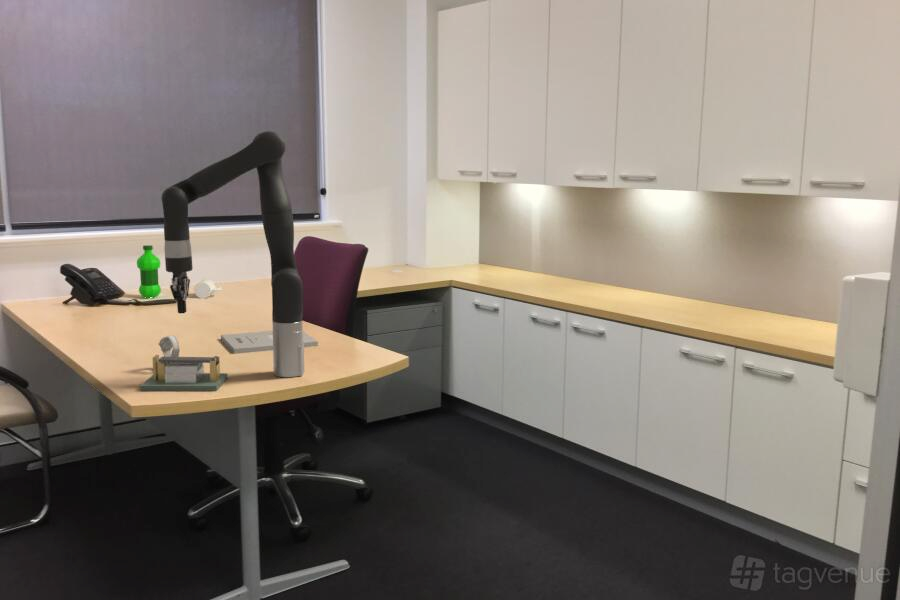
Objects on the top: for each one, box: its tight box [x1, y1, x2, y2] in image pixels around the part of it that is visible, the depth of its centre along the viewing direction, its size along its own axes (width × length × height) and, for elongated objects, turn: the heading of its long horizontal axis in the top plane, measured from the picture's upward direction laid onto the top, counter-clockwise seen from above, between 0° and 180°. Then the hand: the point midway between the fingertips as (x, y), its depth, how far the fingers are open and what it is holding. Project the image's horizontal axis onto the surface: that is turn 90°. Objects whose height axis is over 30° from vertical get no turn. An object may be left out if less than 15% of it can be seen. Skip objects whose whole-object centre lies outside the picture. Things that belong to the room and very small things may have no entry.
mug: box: [193, 278, 223, 299], centre depth 392 cm, size 12×10×8 cm
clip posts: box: [151, 354, 221, 382], centre depth 241 cm, size 19×5×7 cm, turn 92°
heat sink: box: [165, 362, 205, 384], centre depth 241 cm, size 9×9×5 cm
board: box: [139, 372, 229, 392], centre depth 242 cm, size 22×14×2 cm, turn 92°
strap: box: [158, 355, 220, 364], centre depth 241 cm, size 17×4×2 cm, turn 92°
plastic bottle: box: [136, 244, 162, 299], centre depth 385 cm, size 10×10×25 cm
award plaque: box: [220, 330, 319, 355], centre depth 298 cm, size 25×30×2 cm
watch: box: [157, 335, 180, 364], centre depth 258 cm, size 6×8×11 cm
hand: (182, 312), depth 241 cm, fingers closed
